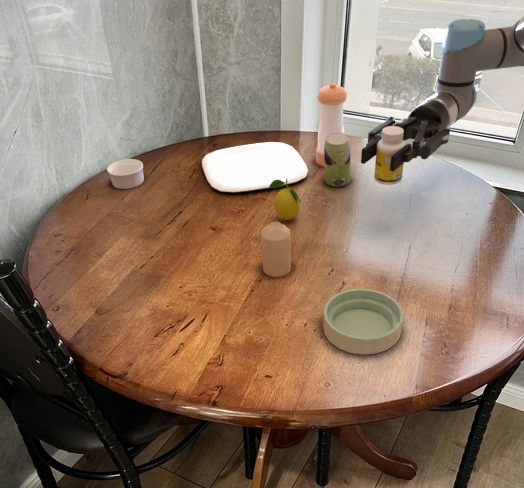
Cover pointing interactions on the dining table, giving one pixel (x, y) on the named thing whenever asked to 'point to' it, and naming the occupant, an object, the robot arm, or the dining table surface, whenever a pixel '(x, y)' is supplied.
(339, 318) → the bowl
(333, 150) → the beverage can
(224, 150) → the plate
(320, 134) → the pepper shaker
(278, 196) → the lemon
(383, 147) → the supplement bottle
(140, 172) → the ramekin
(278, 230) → the candle
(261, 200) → the dining table surface
